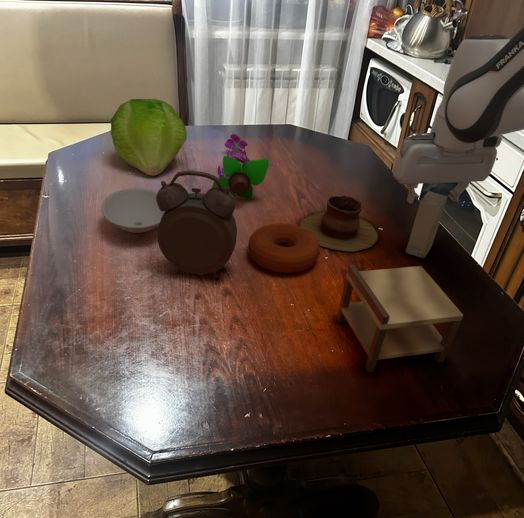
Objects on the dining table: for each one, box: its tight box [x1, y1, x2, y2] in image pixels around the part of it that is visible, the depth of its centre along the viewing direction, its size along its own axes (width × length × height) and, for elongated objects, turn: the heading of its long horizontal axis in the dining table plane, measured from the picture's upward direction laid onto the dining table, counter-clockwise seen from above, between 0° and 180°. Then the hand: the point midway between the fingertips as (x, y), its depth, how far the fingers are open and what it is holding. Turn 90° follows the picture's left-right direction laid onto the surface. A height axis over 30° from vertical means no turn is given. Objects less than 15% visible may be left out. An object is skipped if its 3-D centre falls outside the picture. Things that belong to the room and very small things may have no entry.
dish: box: [100, 187, 165, 234], centre depth 109 cm, size 18×14×5 cm
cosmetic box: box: [405, 190, 448, 259], centre depth 109 cm, size 6×4×12 cm
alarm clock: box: [156, 170, 238, 279], centre depth 94 cm, size 15×7×20 cm, turn 83°
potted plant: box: [211, 133, 270, 200], centre depth 131 cm, size 12×16×35 cm
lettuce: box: [110, 98, 188, 177], centre depth 131 cm, size 17×20×17 cm
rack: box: [336, 264, 464, 373], centre depth 85 cm, size 14×14×12 cm
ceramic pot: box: [299, 195, 379, 252], centre depth 114 cm, size 18×18×7 cm
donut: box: [247, 223, 321, 274], centre depth 105 cm, size 15×15×5 cm
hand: (432, 201), depth 105 cm, fingers open, 8 cm apart
